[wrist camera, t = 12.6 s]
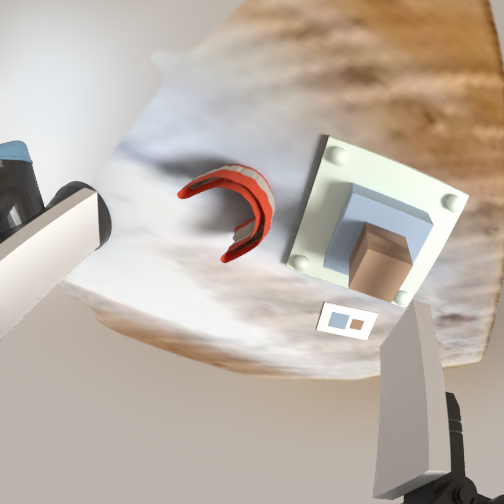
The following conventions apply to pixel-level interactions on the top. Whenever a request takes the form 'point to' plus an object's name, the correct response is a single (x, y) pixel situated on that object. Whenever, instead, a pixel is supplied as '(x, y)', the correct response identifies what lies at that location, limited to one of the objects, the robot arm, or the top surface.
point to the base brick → (380, 214)
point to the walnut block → (379, 263)
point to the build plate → (380, 180)
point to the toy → (252, 191)
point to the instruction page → (346, 321)
